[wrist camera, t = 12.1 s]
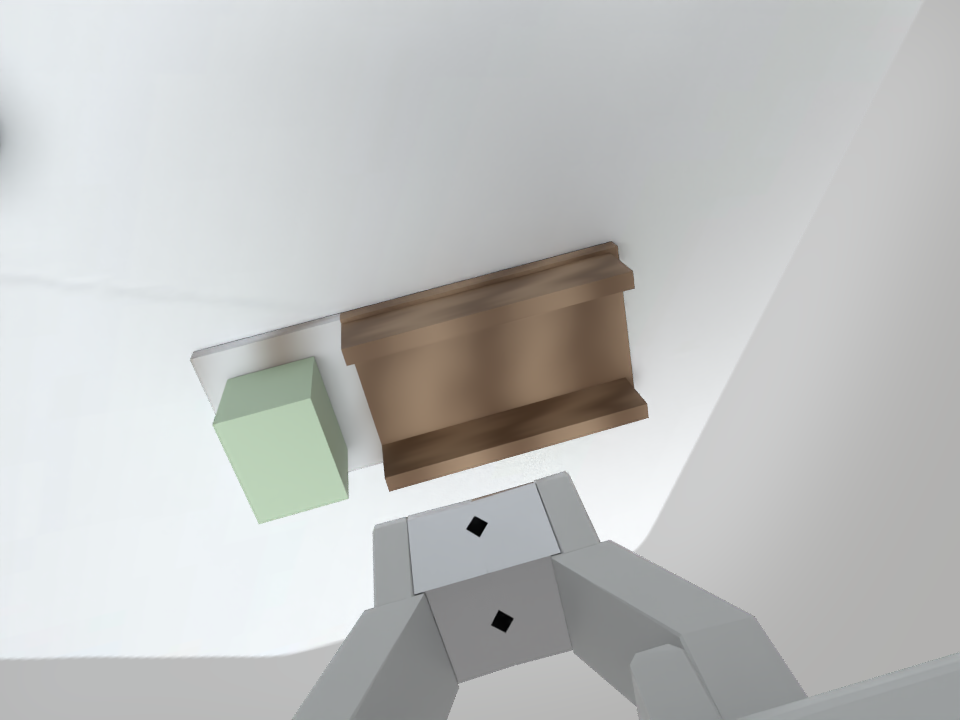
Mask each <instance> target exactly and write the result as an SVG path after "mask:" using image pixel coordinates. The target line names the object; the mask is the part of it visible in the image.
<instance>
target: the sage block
mask: <svg viewBox="0 0 960 720" xmlns="http://www.w3.org/2000/svg"><path fill="white" fill-rule="evenodd" d="M213 427H214V429H215V431H216V433H217V436H218V438H219V440H220V442H221V444H222V446H223V448H224V451H225V453H226V455H227V457H228V459H229V461H230V463H231V465H232V468H233V470H234V472H235V474H236V476H237V478H238V480H239V483H240V485H241V487H242V489H243V491H244V493H245V495H246V497H247V500H248V502H249V504H250V506H251V508H252V510H253V512H254V515H255V517H256V519H257V521H258V523H259V524H262V523H265V522H269V521H272V520H276V519H279V518H283V517H286V516H290V515H293V514H297V513H300V512H304V511H307V510H311V509H314V508H318V507H321V506H325V505H328V504H332V503H335V502H339V501H342V500H346V499H349V497H348V449H347V446H346V443H345V440H344V438H343V435H342V432H341V429H340V427H339V424H338V421H337V418H336V416H335V413H334V410H333V407H332V405H331V402H330V399H329V396H328V394H327V391H326V388H325V385H324V383H323V380H322V377H321V374H320V372H319V369H318V366H317V363H316V361H315V358H314V356H313V357H310V358H306V359H302V360H299V361H295V362H291V363H287V364H284V365H280V366H276V367H272V368H269V369H265V370H261V371H258V372H254V373H250V374H246V375H243V376H239V377H235V378H231V379H228V380H227V382H226V385H225V388H224V391H223V394H222V397H221V400H220V404H219V407H218V410H217V413H216V416H215V419H214V422H213Z"/></svg>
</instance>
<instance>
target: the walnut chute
mask: <svg viewBox="0 0 960 720" xmlns="http://www.w3.org/2000/svg"><path fill="white" fill-rule="evenodd" d="M634 288H635V286H634V277H633V271H632V270H631V269H630V268H628V267H627V266H626V265H625V264H623V263H622V262H621V261H620V260H619V254H618V246H617V245H615V244H614V243H613V242H608V243H604V244H601V245H597V246H593V247H589V248H585V249H582V250H578V251H574V252H570V253H567V254H563V255H559V256H555V257H551V258H548V259H544V260H540V261H536V262H533V263H529V264H525V265H521V266H517V267H514V268H510V269H506V270H502V271H498V272H495V273H491V274H487V275H483V276H480V277H476V278H472V279H468V280H464V281H461V282H457V283H453V284H449V285H446V286H442V287H438V288H434V289H430V290H427V291H423V292H419V293H415V294H411V295H408V296H404V297H400V298H396V299H393V300H389V301H385V302H381V303H377V304H374V305H370V306H366V307H362V308H359V309H355V310H351V311H347V312H343V313H340V314H336V315H332V316H328V317H324V318H321V319H317V320H313V321H309V322H306V323H302V324H298V325H294V326H290V327H287V328H283V329H279V330H275V331H272V332H268V333H264V334H260V335H256V336H253V337H249V338H245V339H241V340H237V341H234V342H230V343H226V344H222V345H219V346H215V347H211V348H207V349H203V350H200V351H196V352H193V354H192V356H191V358H190V361H191V363H192V365H193V367H194V370H195V372H196V374H197V376H198V378H199V380H200V382H201V385H202V387H203V389H204V391H205V393H206V395H207V398H208V400H209V402H210V404H211V406H212V408H213V411H214V413H215V415H216V413H217V410H218V407H219V404H220V400H221V397H222V394H223V391H224V388H225V385H226V382H227V380H228V379H231V378H235V377H239V376H243V375H246V374H250V373H254V372H258V371H261V370H265V369H269V368H272V367H276V366H280V365H284V364H287V363H291V362H295V361H299V360H302V359H306V358H310V357H313V356H314V358H315V361H316V363H317V366H318V369H319V372H320V374H321V377H322V380H323V383H324V385H325V388H326V391H327V394H328V396H329V399H330V402H331V405H332V407H333V410H334V413H335V416H336V418H337V421H338V424H339V427H340V429H341V432H342V435H343V438H344V440H345V443H346V446H347V449H348V472H351V471H355V470H358V469H362V468H365V467H369V466H372V465H376V464H379V463H383V464H384V474H385V480H386V483H387V486H388V489H389V492H390V491H393V490H397V489H400V488H404V487H407V486H411V485H414V484H418V483H421V482H425V481H428V480H432V479H435V478H439V477H442V476H446V475H449V474H453V473H456V472H460V471H463V470H467V469H470V468H474V467H477V466H481V465H485V464H488V463H492V462H495V461H499V460H502V459H506V458H509V457H513V456H516V455H520V454H523V453H527V452H530V451H534V450H537V449H541V448H544V447H548V446H551V445H555V444H558V443H562V442H565V441H569V440H572V439H576V438H579V437H583V436H586V435H590V434H593V433H597V432H600V431H604V430H607V429H611V428H614V427H618V426H621V425H625V424H628V423H632V422H635V421H639V420H643V419H646V418H649V417H648V407H647V403H646V402H645V401H644V399H643V398H642V397H641V396H640V395H639V393H638V392H637V391H636V390H635V389H634V383H633V374H632V366H631V357H630V349H629V340H628V331H627V323H626V314H625V306H624V297H623V291H627V290H630V289H634Z"/></svg>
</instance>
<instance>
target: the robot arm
mask: <svg viewBox="0 0 960 720" xmlns="http://www.w3.org/2000/svg"><path fill="white" fill-rule="evenodd" d="M373 572H374V608H371V609H368V610H365V611H364V612H363V613H362V615H361V616H360V618H359V619H358V621H357V622H356V624H355V625H354V627H353V628H352V630H351V631H350V633H349V634H348V636H347V637H346V639H345V640H344V642H343V643H342V645H341V646H340V648H339V649H338V651H337V652H336V654H335V655H334V657H333V658H332V660H331V661H330V663H329V664H328V666H327V667H326V669H325V670H324V672H323V673H322V675H321V676H320V678H319V679H318V681H317V682H316V684H315V685H314V687H313V688H312V690H311V691H310V693H309V694H308V696H307V697H306V699H305V700H304V702H303V703H302V705H301V706H300V708H299V709H298V711H297V712H296V714H295V715H294V717H293V718H292V720H447V718H448V715H449V712H450V710H451V707H452V704H453V702H454V699H455V697H456V694H457V691H458V689H459V686H458V684H459V683H462V682H465V681H468V680H471V679H474V678H477V677H480V676H483V675H486V674H490V673H493V672H496V671H499V670H502V669H505V668H508V667H511V666H514V665H518V664H521V663H526V662H529V661H533V660H537V659H540V658H545V657H549V656H552V655H556V654H560V653H564V652H568V651H571V650H573V652H574V654H576V655H577V656H578V657H579V658H580V659H581V660H583V661H584V662H585V663H586V664H587V665H588V666H590V667H591V668H592V669H593V670H594V671H595V672H597V673H598V674H599V675H600V676H601V677H602V678H604V679H605V680H606V681H607V682H608V683H609V684H611V685H612V686H613V687H614V688H615V689H616V690H618V691H619V692H620V693H621V694H623V695H624V696H625V697H626V698H627V699H628V700H629V701H631V702H632V703H633V704H634V705H635V706H636V707H637V711H638V716H639V720H960V652H959V653H956V654H952V655H949V656H945V657H942V658H939V659H935V660H932V661H928V662H925V663H922V664H918V665H916V666H912V667H909V668H905V669H902V670H899V671H895V672H892V673H888V674H886V675H882V676H878V677H875V678H872V679H869V680H865V681H862V682H858V683H855V684H852V685H848V686H845V687H841V688H838V689H835V690H831V691H829V692H825V693H821V694H818V695H815V696H811V697H808V696H807V695H806V693H805V692H804V690H803V689H802V687H801V686H800V684H799V683H798V681H797V680H796V678H795V677H794V675H793V674H792V672H791V671H790V669H789V668H788V666H787V665H786V663H785V662H784V660H783V659H782V657H781V656H780V654H779V652H778V651H777V649H776V648H775V647H774V645H773V643H772V642H771V640H770V639H769V637H768V636H767V634H766V633H765V631H764V630H763V628H762V627H761V625H760V624H759V622H758V621H757V619H756V618H755V616H753V615H751V614H749V613H748V612H746V611H744V610H742V609H740V608H738V607H736V606H734V605H732V604H730V603H729V602H727V601H725V600H723V599H721V598H719V597H717V596H715V595H714V594H712V593H709V592H708V591H706V590H704V589H702V588H700V587H698V586H696V585H695V584H693V583H691V582H689V581H687V580H685V579H683V578H681V577H680V576H678V575H676V574H674V573H672V572H670V571H668V570H666V569H664V568H663V567H661V566H659V565H657V564H655V563H653V562H651V561H649V560H647V559H646V558H644V557H642V556H640V555H638V554H636V553H634V552H632V551H630V550H629V549H627V548H625V547H623V546H621V545H619V544H617V543H615V542H613V541H612V540H608V541H604V542H600V540H599V538H598V536H597V533H596V531H595V529H594V527H593V525H592V523H591V520H590V518H589V516H588V514H587V512H586V510H585V508H584V505H583V503H582V501H581V499H580V497H579V495H578V492H577V490H576V488H575V486H574V484H573V482H572V479H571V477H570V475H569V474H568V473H567V472H565V471H564V472H560V473H557V474H554V475H551V476H547V477H544V478H541V479H538V480H534V482H531V483H527V484H524V485H520V486H517V487H514V488H510V489H507V490H503V491H500V492H496V493H493V494H489V495H486V496H482V497H479V498H475V499H472V500H467V501H463V502H459V503H455V504H451V505H448V506H444V507H440V508H436V509H432V510H428V511H424V512H421V513H417V514H413V515H409V516H408V517H403V518H399V519H395V520H392V521H388V522H384V523H380V524H377V525H375V527H374V530H373Z"/></svg>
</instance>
